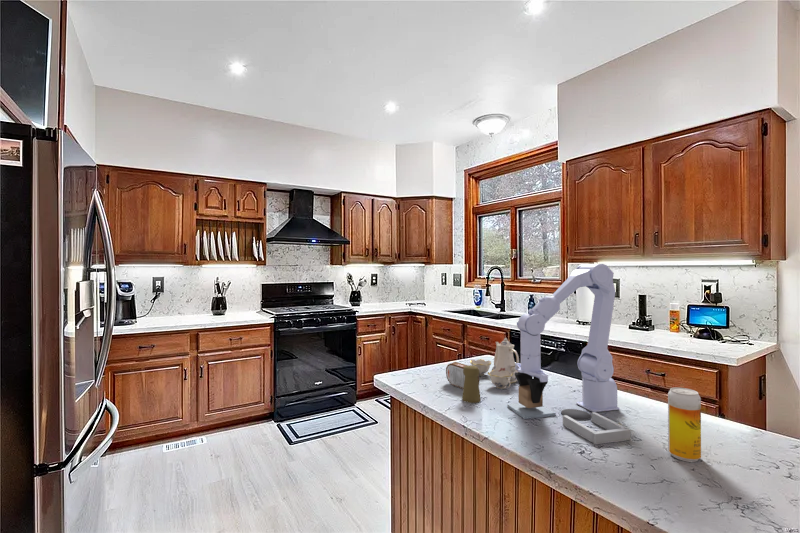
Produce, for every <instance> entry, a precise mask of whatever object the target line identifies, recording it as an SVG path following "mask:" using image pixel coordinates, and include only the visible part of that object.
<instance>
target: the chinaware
mask: <svg viewBox="0 0 800 533" xmlns="http://www.w3.org/2000/svg"><path fill="white" fill-rule="evenodd" d="M495 345H496V348H495V354H494V358H493V367H492V369H491V370H490V368H491V365H492V361H491V360H484V359H482V358H481V359H477V360H476V359H475V360H474V359H470V362H469V363H470V365H472V366H476V367H478V369H479V375H478V376H481V377H483V375H484V376H486V374H487V375H488V376H489V378H490V381H491V383H492V384H493V385H494V386H495V389H499V390H504V389H507V388H508V389H509V388H510V387H511V384H513V383H517V382H518V380H517V378H516V376H515V373H518V371H517V370H515V363H520V358H519V357H520V356H519V354H518V352H517V350H515V349H514V348H515V344H512V343H511V342H510V341H509V340H508V338H507V337H504V339H503V340H502V341H501V342H499V341H495ZM514 354H515V357H516V360H515V358H514ZM515 361H516V362H515ZM489 370H490V372H488V371H489ZM516 381H517V382H516Z"/></svg>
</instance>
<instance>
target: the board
mask: <svg viewBox="0 0 800 533" xmlns="http://www.w3.org/2000/svg"><path fill="white" fill-rule="evenodd" d="M506 406H507V408H508V409H510V410H511V411H512V412H514V413H516V414H517V415H518V416H520V417H521V418H523V419H525V420H528V419H538V418H545V417H553V416H554V417H556V416H557V414H556V413H557V412H555V411H553V410H551V409H550V408H548V407H546V406H545V405H543V407H534V408H527V407H525V406H523V405H522V404H520V403H519V402H518V403H517V402H516V403H507V405H506Z"/></svg>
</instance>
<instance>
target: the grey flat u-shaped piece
mask: <svg viewBox="0 0 800 533" xmlns="http://www.w3.org/2000/svg"><path fill="white" fill-rule="evenodd" d="M591 422H592V423H593V424H595V425H598V426H599V427H601V428H603V429H605V430H597V431H596V430H594V429H592V428H590V427H589V426H586V425H585V424H583V423H581V422H579V420H574V419H572V418H571V417H569V416H567V415H564V416H563V415H562V426H564V427H566V428H567V429H569V430H571V431H573V432H574V433H575V434H577V435H579V436H580V437H582V438H584V439H586V440H587V441H589V442H591V443H592V444H594V445H601V444H608V443H615V442H623V441H624V442H625V441H630V440H631V439H632V437H631V435H632V434H631V429H630V428H628V427H626V426H624V425H622V424H619V423H618V422H616V421H614V420H612V419H609V418H608V417H606V416H603V415H602V414H600V413H598V412H592V411H591Z"/></svg>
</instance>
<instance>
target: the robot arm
mask: <svg viewBox="0 0 800 533" xmlns="http://www.w3.org/2000/svg"><path fill="white" fill-rule="evenodd" d="M613 280H614V272H613V270H611V269H610V267H609V266H608V265H607V264H604V263H599V264H598V263H597V264H594V263H593V264H588V263H581V264H579V265H578V266H576V268H575V269H574V270H572V271H571V272H570V275H569V276H568V277H567V278H566V279H565V281H563V283H562V284H561V285H560V286H559V287H558V288H557V289H556V291H554V292H553V293H552V295H551V296H550V295H546V296H542V297H540V298H538V302H537V303H536V304H535V305H534V306H533V307H532V308H530V309H528V310H527V312H528V313H523V314H522V315H521V316H520V317H518V322H516V326H517V329H518V330H519V331H520V362H519V363H516V362H515V370H517V371H518V373H515V376H516V378H517V382H518V386H526V385H529V386H530V390H531V399H532V403H540V399H541V395H542V392H543V393H544V389H545V388H546V385H547V384H548V382H549V376H548V374H547V373H546V372H544V370H542V368H541V367H542V366H541V363H542V360H541V357H542V356H541V353H542V352H541V349H542V348H541V347H542V346H541V333H543V332H544V331H545V327H546V323H548V322H549V321H550V319H552V318H553V317H554V316H555V315H556V314H557V313H558V312H559V311H560V310H561V304H562V303H563V302H564V301H565V300H567V298H569V297H570V296H571V295H572V294H574V293H575V292H576V291H577V290H578V289H580V288H583V287H586V288H588V290H589V291H590V292H591V293H592V294H593V295H594V298H593V299H594V300H593V306H592V314H591V318H590V319H591V320H590V324H589V325H590V327H589V332H588V333H589V334H588V338H587V339H588V341H587V345H586V346H585V347H583V348H582V349H581V354H580V356H579V357H578V359H577V367H578V368H577V369H578V370H579V371H580V372H581V377H582V378H581V379H582V380H581V381H582V383H581V385H582V390H581V391H582V396H581V397H582V400H581V401H576V402H575V404H577V405H579V406H580V407H582V408H584V409H586V410H588V411H590V412H591V413H592V412H596V413H598V412H608V411H609V412H610V411H616V410H617V411H618V410H620V407H619V406H618V385H617V383H616V380H614V378H612V377H613V375H614V372H615V371H614V370H615V369H614V365H613V355H612V354H611V352H610V351H609V349H608V346H609V340H610V332H611V325H612V318H613V314H614V313H613V311H614V306H615V305H614V304H615V297H616V287H615V285H614V281H613Z"/></svg>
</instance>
